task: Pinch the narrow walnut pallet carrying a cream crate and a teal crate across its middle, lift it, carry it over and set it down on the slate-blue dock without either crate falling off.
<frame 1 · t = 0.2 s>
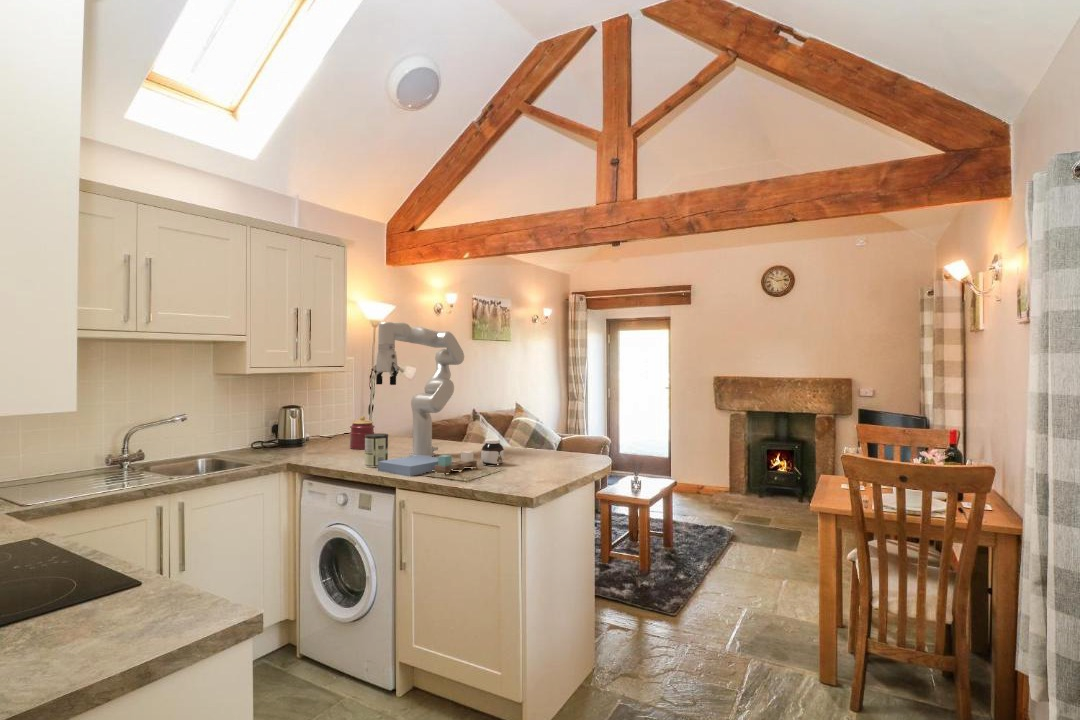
hand: (386, 384, 265), 37 cm above the worktop, tool pointing down, fingers open, 9 cm apart
coffee can: (376, 466, 256), on the worktop
canister: (362, 448, 311), on the worktop
pallet: (456, 471, 244), on the worktop, touching cream crate, teal crate
cream crate: (467, 461, 250), point 3 cm above the worktop, touching pallet
spread jar: (491, 464, 262), on the worktop
teal crate: (444, 465, 238), point 3 cm above the worktop, touching pallet
dock: (415, 469, 247), on the worktop
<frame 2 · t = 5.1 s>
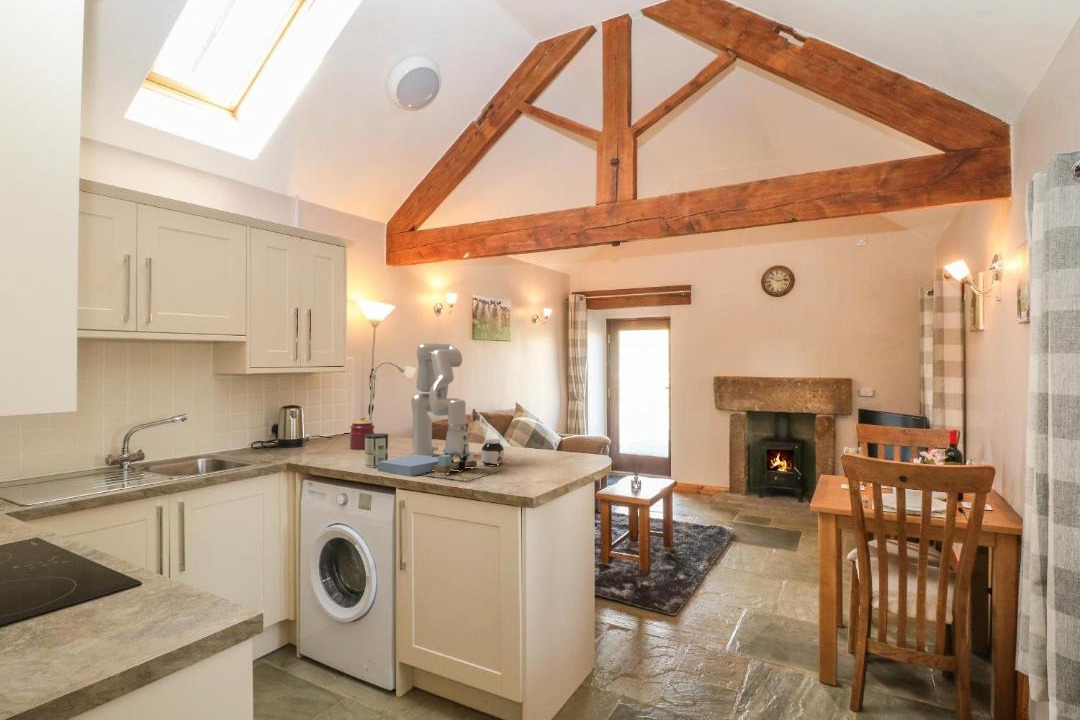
hand: (456, 469, 244), 1 cm above the worktop, tool pointing down, fingers closed on pallet, 6 cm apart
pallet: (456, 471, 244), on the worktop, touching cream crate, gripper, teal crate
everything else where it was.
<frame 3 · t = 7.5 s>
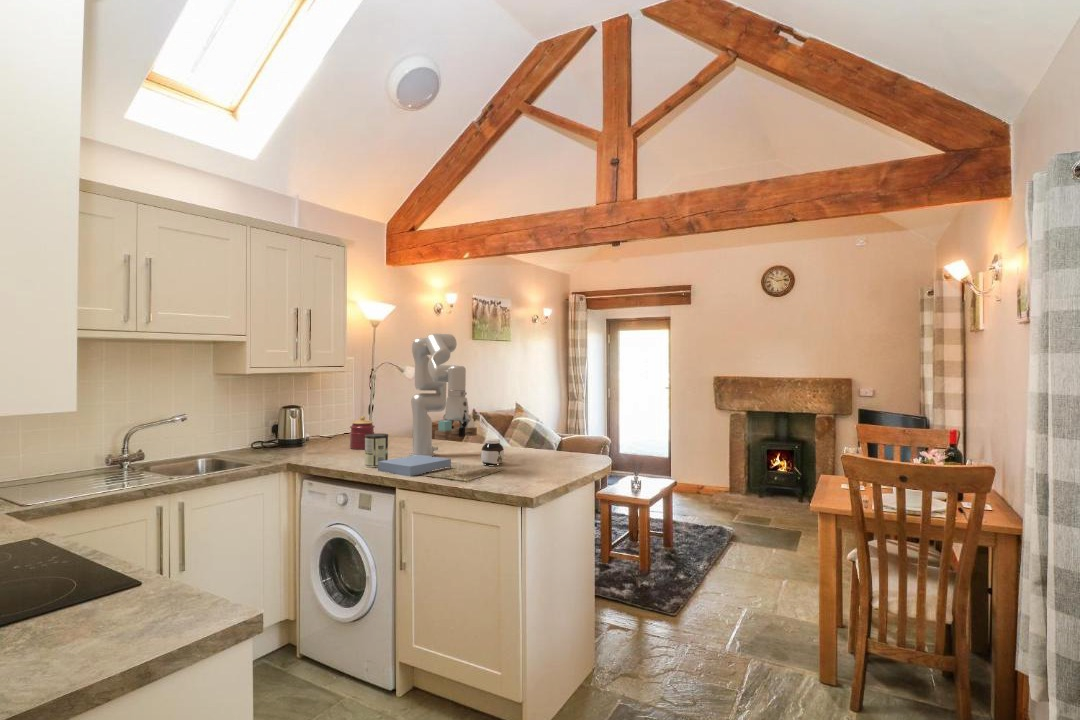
hand: (456, 435, 244), 15 cm above the worktop, tool pointing down, fingers closed on pallet, 6 cm apart
pallet: (456, 437, 244), point 15 cm above the worktop, touching cream crate, gripper, teal crate
cream crate: (467, 427, 250), point 18 cm above the worktop, touching pallet
teal crate: (444, 430, 238), point 18 cm above the worktop, touching pallet
everything else where it was.
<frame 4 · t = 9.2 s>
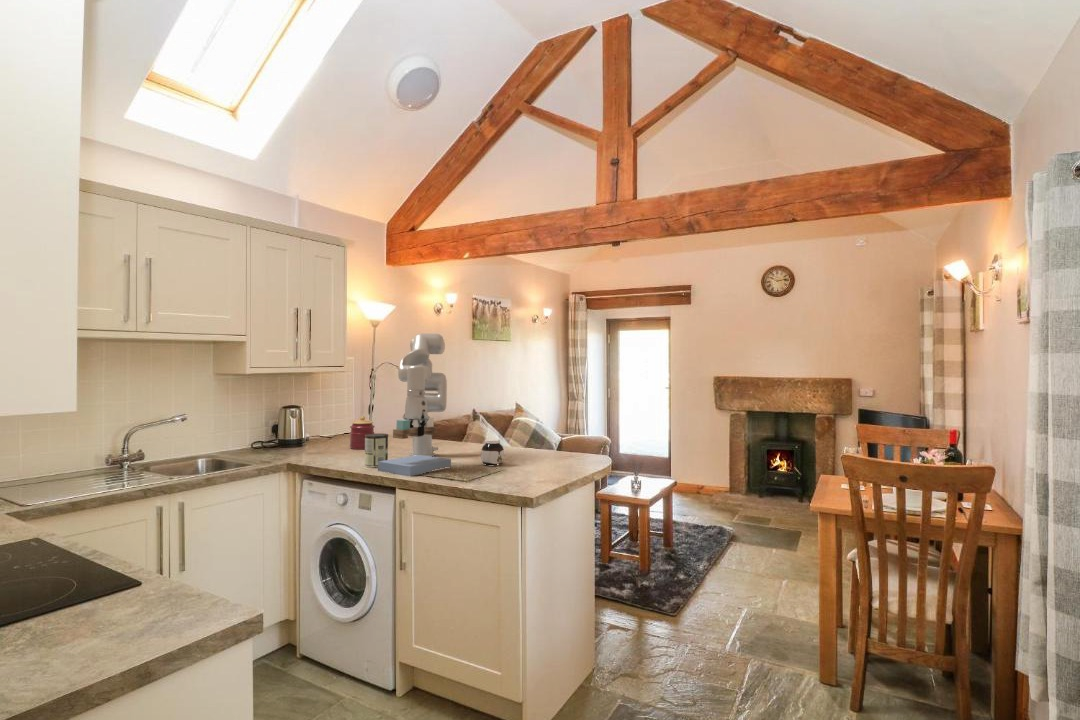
hand: (415, 434, 247), 15 cm above the worktop, tool pointing down, fingers closed on pallet, 6 cm apart
pallet: (415, 436, 247), point 15 cm above the worktop, touching cream crate, gripper, teal crate
cream crate: (427, 426, 253), point 18 cm above the worktop, touching pallet
teal crate: (403, 429, 241), point 18 cm above the worktop, touching pallet
everything else where it was.
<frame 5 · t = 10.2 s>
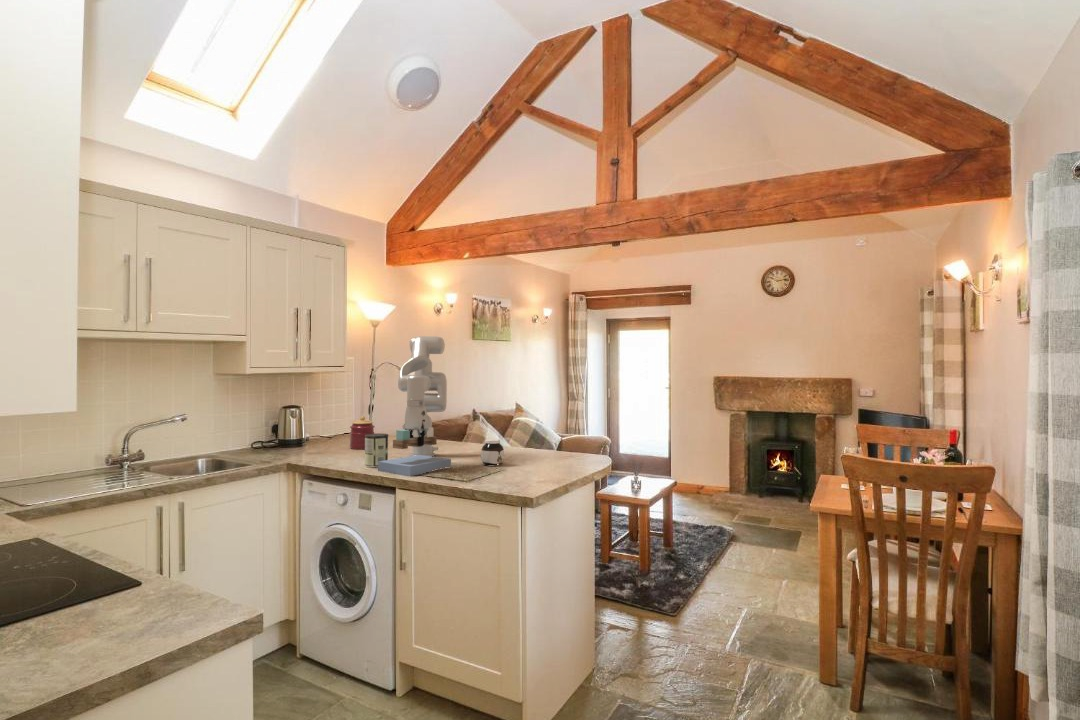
hand: (415, 444, 247), 11 cm above the worktop, tool pointing down, fingers closed on pallet, 6 cm apart
pallet: (415, 446, 247), point 10 cm above the worktop, touching cream crate, gripper, teal crate
cream crate: (426, 436, 253), point 14 cm above the worktop, touching pallet
teal crate: (403, 439, 241), point 14 cm above the worktop, touching pallet
everything else where it was.
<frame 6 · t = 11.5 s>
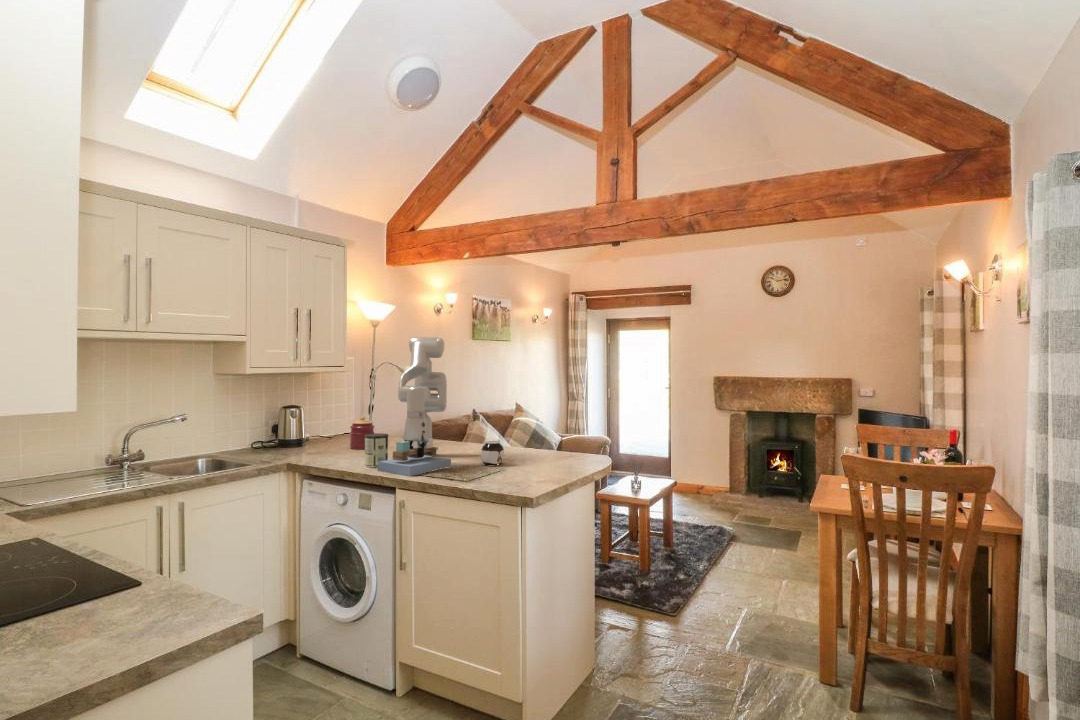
hand: (415, 455, 247), 6 cm above the worktop, tool pointing down, fingers closed on pallet, 6 cm apart
pallet: (415, 457, 247), point 5 cm above the worktop, touching cream crate, gripper, teal crate
cream crate: (426, 447, 253), point 9 cm above the worktop, touching pallet
teal crate: (402, 451, 241), point 9 cm above the worktop, touching pallet
everything else where it was.
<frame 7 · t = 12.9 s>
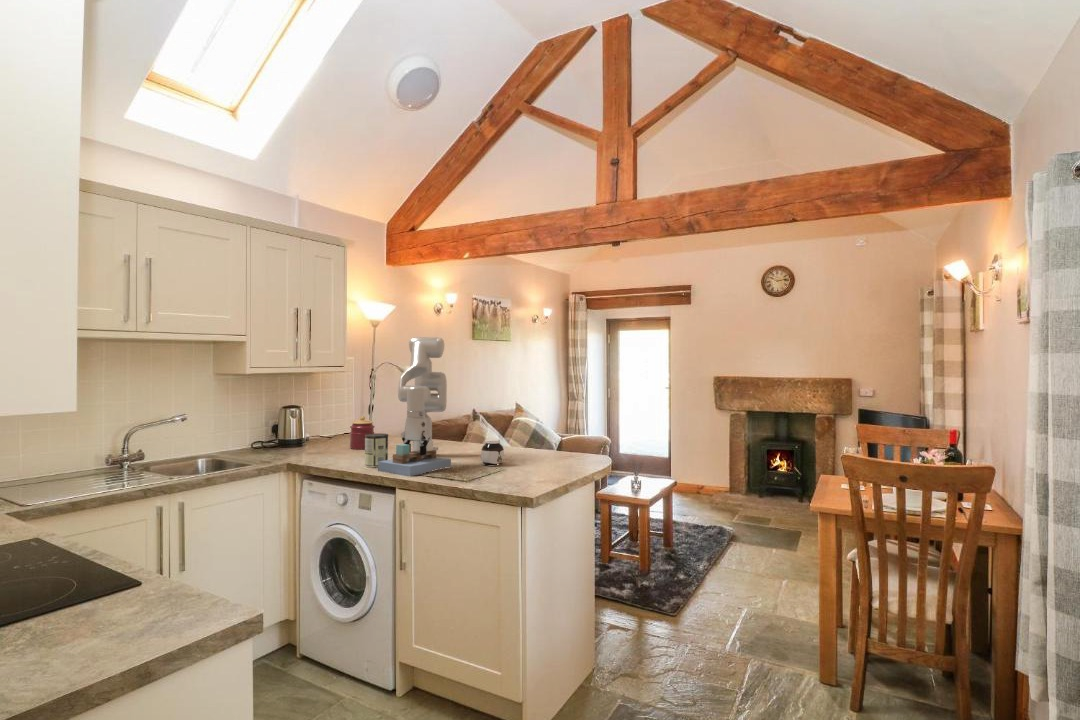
hand: (415, 453, 247), 7 cm above the worktop, tool pointing down, fingers open, 9 cm apart
pallet: (415, 460, 247), point 4 cm above the worktop, touching cream crate, dock, teal crate
cream crate: (426, 450, 253), point 7 cm above the worktop, touching pallet
teal crate: (402, 454, 241), point 7 cm above the worktop, touching pallet
everything else where it was.
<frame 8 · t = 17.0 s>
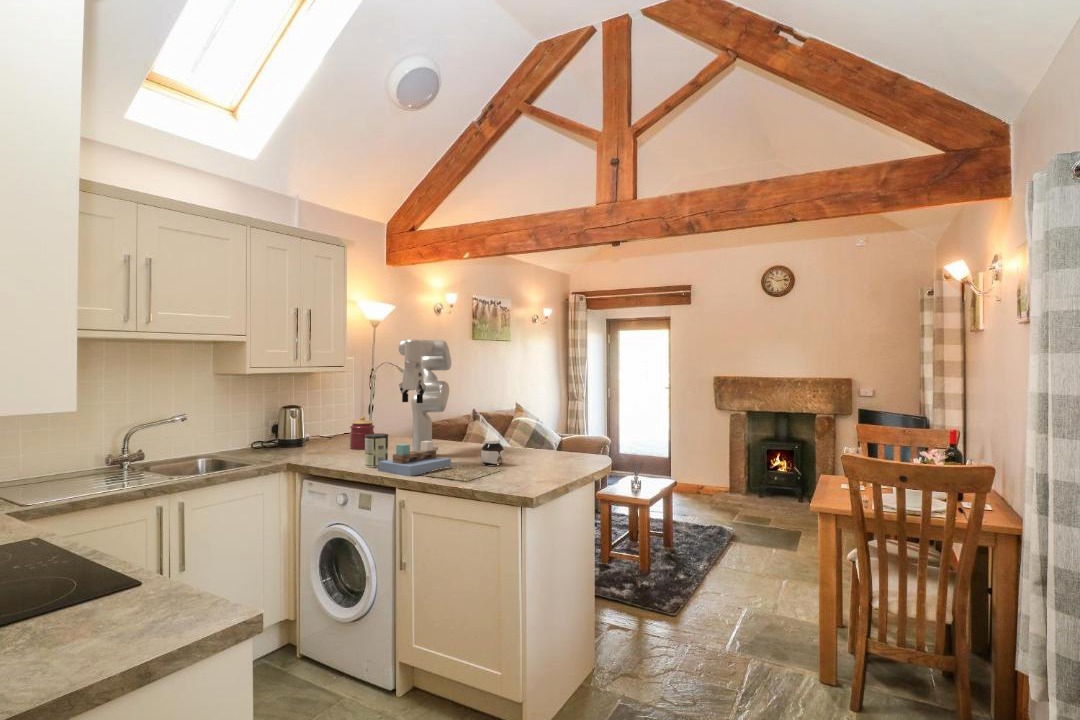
hand: (412, 402, 263), 28 cm above the worktop, tool pointing down, fingers open, 9 cm apart
nothing on the worktop moved.
at the end: pallet inside the target area on the dock (0.1 cm from its centre), point 4.0 cm above the dock's base; cream crate inside the target area on the pallet (7.0 cm from its centre), point 3.5 cm above the pallet's base; teal crate inside the target area on the pallet (7.0 cm from its centre), point 3.5 cm above the pallet's base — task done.
